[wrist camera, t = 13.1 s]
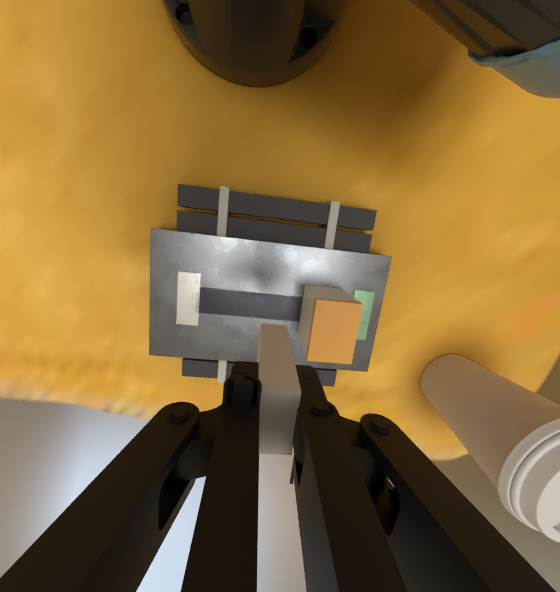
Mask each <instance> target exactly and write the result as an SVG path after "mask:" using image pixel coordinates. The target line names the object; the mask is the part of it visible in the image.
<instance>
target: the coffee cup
mask: <svg viewBox="0 0 560 592" xmlns="http://www.w3.org/2000/svg"><path fill="white" fill-rule="evenodd" d="M420 387H421V391H422V393H423V395H424V396H425V397H426V399H427V400H428V401H429V402H430V404H431V405H432V406H433V407H434V409H435V410H436V411H437V412H438V414H439V415H440V416H441V417H442V419H443V420H444V421H445V422H446V424H447V425H448V426H449V427H450V429H451V430H452V431H453V433H454V434H455V435H456V436H457V438H458V439H459V440H460V441H461V443H462V444H463V445H464V446H465V448H466V449H467V450H468V451H469V453H470V454H471V455H472V457H473V458H474V459H475V460H476V462H477V463H478V464H479V465H480V466H481V468H482V469H483V470H484V472H485V473H486V474H487V476H488V477H489V478H490V479H491V481H492V482H493V483H494V484H495V486H496V487H497V488H498V491H499V496H500V499H501V502H502V504H503V506H504V507H505V508H506V510H507V511H508V512H510V514H512V515H513V516H514V517H516V518H517V519H518V520H519V521H521V522H522V523H524V524H526V525H527V526H529V527H531V528H533V529H535V530H538V531H540V532H542V533H543V534H545V535H546V536H547V537H549V538H550V539H552V540H554V541H557V542H560V405H558V404H556V403H554V402H552V401H550V400H548V399H546V398H544V397H542V396H540V395H538V394H536V393H534V392H532V391H530V390H528V389H526V388H524V387H522V386H520V385H518V384H516V383H514V382H512V381H510V380H508V379H506V378H504V377H502V376H500V375H498V374H496V373H494V372H492V371H490V370H488V369H486V368H484V367H482V366H480V365H478V364H476V363H474V362H472V361H470V360H469V359H467V358H465V357H462V356H460V355H456V354H447V355H443V356H440V357H438V358H436V359H434V360H433V361H432V362H431V363H429V364H428V366H427V367H426V368H425V370H424V371H423V373H422V376H421V380H420Z"/></svg>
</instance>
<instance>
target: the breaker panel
mask: <svg viewBox="0 0 560 592" xmlns="http://www.w3.org/2000/svg"><path fill="white" fill-rule="evenodd" d="M390 262H391V256H386V255H381V254H374V253H369V254H367V253H358V252H350V251H342V250H332V249H324V248H316V247H308V246H299V245H291V244H282V243H274V242H265V241H257V240H248V239H240V238H231V237H222V236H214V235H206V234H197V233H189V232H180V231H177V230H171V229H162V228H151V246H150V329H149V355H155V356H169V357H182V358H195V359H208V360H221V361H234V362H237V361H248V362H257V354H258V345H259V336H260V327H261V323H267V324H277V325H287V329H288V334H289V339H290V343H291V348H292V352H293V357H294V361H295V365H307V366H312V367H313V368H326V369H340V370H353V371H366V372H368V367H369V362H370V357H371V353H372V348H373V343H374V338H375V334H376V329H377V324H378V319H379V315H380V310H381V305H382V300H383V295H384V291H385V286H386V281H387V276H388V272H389V267H390ZM305 285H312V286H322V287H331V288H341V289H343V290H345V291H346V292H347V293H349V294H350V295H351V296H353V297H354V298H355V299H357V300H358V301H359V302H361V303H362V304H363V307H362V312H361V317H360V322H359V328H358V333H357V338H356V343H355V348H354V353H353V359H352V364H340V363H327V362H314V361H307V359H306V356H305V354H304V351H303V348H302V345H301V342H300V339H299V337H298V329H299V322H300V315H301V308H302V301H303V294H304V287H305Z"/></svg>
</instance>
